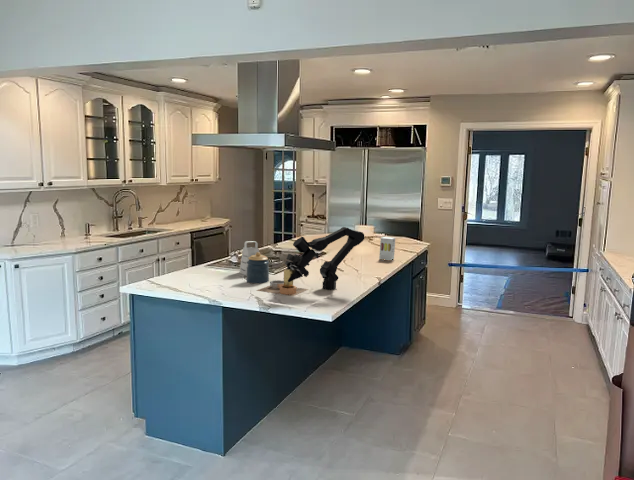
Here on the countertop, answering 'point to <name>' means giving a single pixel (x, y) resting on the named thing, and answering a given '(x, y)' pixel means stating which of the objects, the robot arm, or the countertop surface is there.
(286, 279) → the brass shaft
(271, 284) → the steel stand collar
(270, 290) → the walnut board
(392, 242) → the supplement box
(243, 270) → the grater
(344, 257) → the robot arm
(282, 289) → the ring
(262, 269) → the canister
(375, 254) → the countertop surface
